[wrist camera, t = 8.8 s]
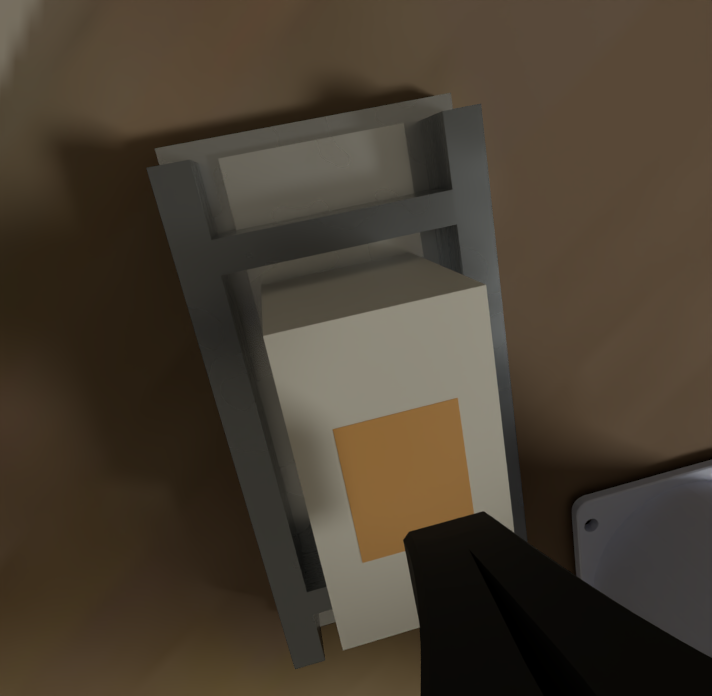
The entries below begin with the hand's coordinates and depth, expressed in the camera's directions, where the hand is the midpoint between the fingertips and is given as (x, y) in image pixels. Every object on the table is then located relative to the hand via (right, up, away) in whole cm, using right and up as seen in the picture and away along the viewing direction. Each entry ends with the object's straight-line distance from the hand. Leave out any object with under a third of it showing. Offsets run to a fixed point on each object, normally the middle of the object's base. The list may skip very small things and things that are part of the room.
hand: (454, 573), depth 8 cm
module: (-1, +2, +7) cm, 7 cm away
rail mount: (-1, +2, +8) cm, 8 cm away
